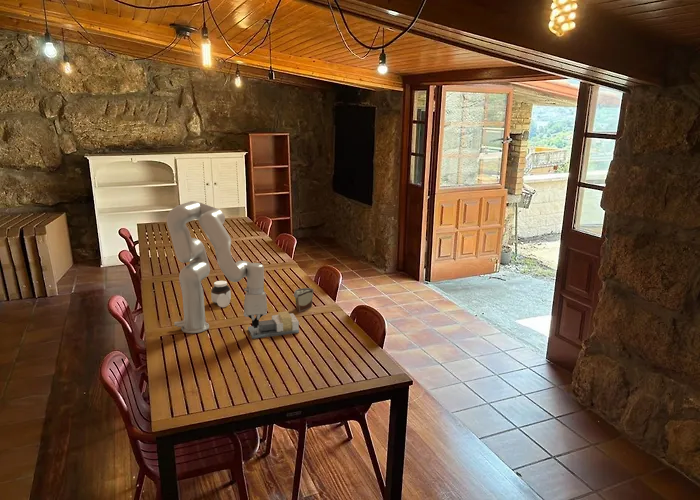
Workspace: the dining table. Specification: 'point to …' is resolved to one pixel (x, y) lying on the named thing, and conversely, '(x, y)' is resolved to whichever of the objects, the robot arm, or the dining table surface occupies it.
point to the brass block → (286, 320)
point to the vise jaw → (271, 324)
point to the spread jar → (221, 293)
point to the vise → (260, 334)
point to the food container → (303, 298)
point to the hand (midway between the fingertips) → (255, 326)
